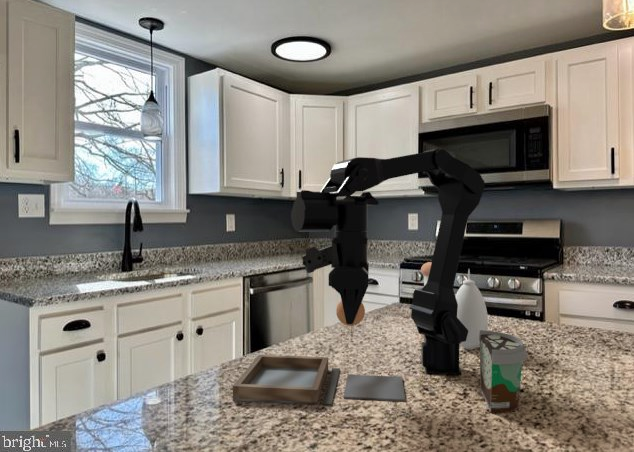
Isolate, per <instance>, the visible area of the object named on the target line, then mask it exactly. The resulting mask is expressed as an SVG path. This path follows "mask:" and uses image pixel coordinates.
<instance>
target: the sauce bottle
mask: <svg viewBox="0 0 634 452" xmlns="http://www.w3.org/2000/svg"><path fill="white" fill-rule="evenodd" d="M470 273H471V272H470V269H468V271H467V279H465V280H463V281H462V285H461V286H460V287H459V289H458V290H457V292H456V293H455V297H456V300H457V303H458V309H457V318H458V319H459V320H460V321H461V323H462V324H463V325H464V326H465V327H466V328H467V329H468V335H467V339H466V341H464V342H461V344H459V346H461V347H462V348H464V349H465V350H469V351H471V350H474V349H476V348H478V346H480V341H479V333H480V330H485V331H488V327H489V325H488V324H489V319H488V316H489V315H488V311H487V306H486V302H485V300H484V297H483V294H482V293H481V291H480V289H479V288H478V286H477V285H476V281H475V280H472V279H471V274H470Z"/></svg>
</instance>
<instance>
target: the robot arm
mask: <svg viewBox="0 0 634 452" xmlns="http://www.w3.org/2000/svg"><path fill="white" fill-rule="evenodd" d="M419 173H426V175H427V177H428V179H429V181H430V183H431V184H432V185H433V187H435V188H436V189H437V190H438V195H437V197H438V198H437V201H438V203H439V206H440V209H441V217H440V218H441V219H440V222H439V228H438V231H437V236H436V241H435V244H434V245H435V246H434V250H433V254H432V255H433V256H432V259H431V260H432V261H431V262H432V263H431V268H430V273H429V277H428V281H427V284H426V285H425V286H424V285H423V287H422V289H417V288H415V289H414V291H413V293H412V301H411V304H410V306H409V310H411V314H410V316H411V319H412V321H413V323H414V324H415V326H416V329H417V333H418V334H420V335H421V334H423V335H424V337H423V338H424V339H423V340H424V341H423V342H421V365H422V367H423V368H424V370H425V373H426V374H440V375H445V374H446V375H462V370H461V368H460V344H461V342H464V341H466V339H467V335H468V329H467V328H466V327H465V326H464V325H463V324H462V323H461V321H460V320H459V319H458V318H457V309H458V303H457V300H456V297H455V296H456V293H455V291H454V285H455V280H456V276H457V272H458V266H459V262H460V259H461V258H460V257H461V252H462V250H463V249H462V248H463V244H464V238H465V233H466V229H467V224H468V220H469V218H470V215H472V214H473V212H474V211H475V209H476V208H477V207H478V206H479V205H480V202H481V199H482V197H483V193H484V191H485V180H484V179H483V177H482V175H481V174H480V172H479V171H478V170H475V169H474V168H472V167H471V165H469V164H468V163H466V162H464V161H462V160H461V159H458V158H456V157H454V156H452V155H451V154H450V153H449V152H448V151H447V150H446V149H442V148H438V147H437V148H433V149H429V150H425V151H423V152H418V153H413V154H408V155H402V156H397V157H390V158H377V157H362V156H361V157H360V156H359V157H354V158H350V159H345V160H341V161H338V162H336V163H335V164H333V167H332V168H331V171H330V174H329V175H330V177H329V178H328V180H327V181H326V182H325V184H324V185H323V187H322V188H321V189H320V191H311V190H306V189H304V190H302V189H301V190H297V191H296V198H295V199H294V202H293V205H292V210H290V218H291V219H290V220H291V223H292V224H291V225H292V228H293V229H294V231H295V232H329V231H331V230H332V229H333V227H334V236H333V238H332V239H331V245H328V246H325V247H323V248H320V249H319V247H317V245H315V246H311V247H308V248H306V249H305V250H306V251H305V254H303V255H302V256H301V260H302V262H301V263H302V266H304V267H305V271H306V273H307V274H310V273H313V272H315V271H316V270H319V269H321V268H324V267H327V266H331V268H332V269H331V271H330V272H329V273H328V286H329V287H331V288H332V289H334V290H335V291H336V292H337V293H338V294H339V295H340V299H341V300H342V305H343V309H344V314H345V319H346V323H347V324H353V323H354V320H355V317H356V315H357V312H358V310H359V307H360V305H361V302H362V303H363V300H364V297H365V295H366V292H367V290H368V287H369V270H370V269H369V266H370V264H369V262H368V236H369V235H368V228H369V227H368V225H369V224H368V220H369V217H368V215H369V214H368V213H369V211H368V208H369V207H368V206H379V204H380V202H379V201H378V199H376V197H374V196H373V194H372V193H371V192H370V191H367V190H369V189H371V188H374V187H376V186H378V185H380V184H381V183H383V182H385V181H388V180H390V179H395V178H400V177H405V176H409V175H415V174H419ZM357 192H362V193H361V194H360V195H353V194H355V193H357ZM337 198H343V199H342V201H341V200H340V201H337ZM341 300H340V301H341Z"/></svg>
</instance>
